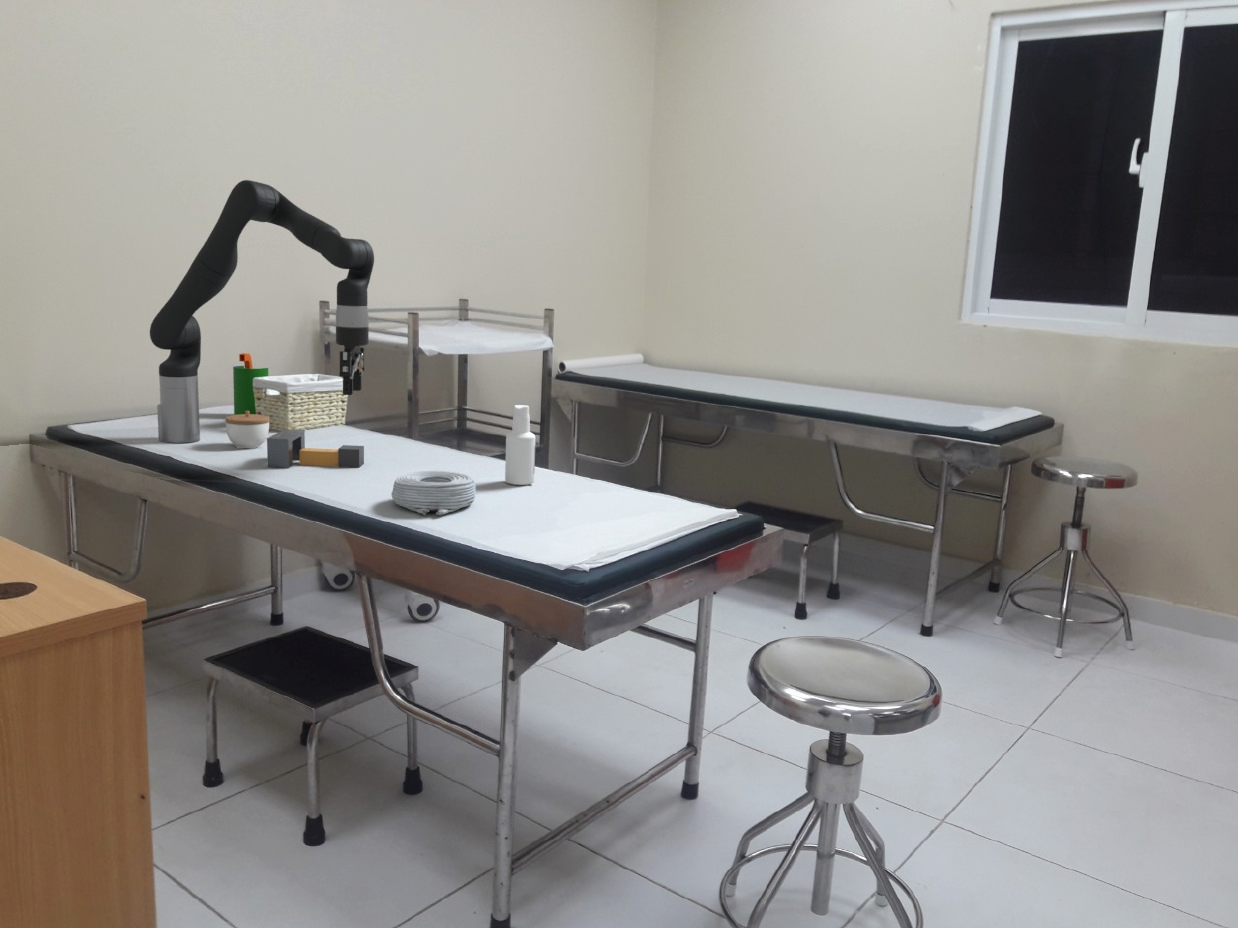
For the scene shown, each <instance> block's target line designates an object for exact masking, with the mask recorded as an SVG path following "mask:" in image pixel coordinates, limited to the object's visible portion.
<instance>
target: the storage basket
mask: <svg viewBox="0 0 1238 928" xmlns="http://www.w3.org/2000/svg"><path fill="white" fill-rule="evenodd" d="M253 392H254V398H255V407H256V414H257V415H265V416H268V417H269V418H270V421H269V428H270V429H269V430H273V429H275V430H274V431H278V430H280V431H282V430H284V429H288V430H302V429H307V430H311V429H310V428H314V429H318V428H317V427H321V428H327V427H326V426H328V427H331V426H330V424H331V425H335V426H341V425H345V424H346V415H347V407H348V406H347V405H348V397H349V395H344V394H343V379H342V377H340V376H336V375H330V374H329V375H328V374H322V373H313V374H312V373H306V374H305V373H304V374H303V373H302V374H301V373H299V374H288V375H287V374H286V375H270V376H269V375H268V376H267V377H258V378H257V377H255V378H254V379H253ZM324 426H325V427H324ZM280 431H279V432H280Z"/></svg>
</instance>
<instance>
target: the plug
mask: <svg viewBox="0 0 1238 928" xmlns="http://www.w3.org/2000/svg"><path fill="white" fill-rule="evenodd" d="M299 459H300V460H299V465H300V466H319V467H320V466H321V467H338V468H355V469H356V468H357V469H359V468H361V467H362V466H363V465H365V446H364V445H347V444H343V445H342V446H340V447H339V448H337V449H333V448H332V449H331V448H309V447H308V448H307V447H305V448H303V449H301V450H300V451H299Z"/></svg>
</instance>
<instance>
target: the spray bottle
mask: <svg viewBox="0 0 1238 928" xmlns="http://www.w3.org/2000/svg"><path fill="white" fill-rule="evenodd" d="M513 407H514V408H513V409H514V410H513V414H512V428H511V429H512V430H511V431H510V432H508V433H507V434H506V435H505V437H506V438H505V468H504V469H505V471H504V473H505V474H504V475H505V476H504V481H505V483H507V484H509V485H515V486H525V485H526V486H527V485H531V484H533V483H534V482H535V471H536V469H535V462H536V460H535V459H536V435H535V434H534V433H533V432H531V424H530V423H531V422H530V419H531V418H530V417H531V416H530V406H529V405H526V404H515V405H514V406H513Z"/></svg>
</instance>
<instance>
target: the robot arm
mask: <svg viewBox="0 0 1238 928" xmlns="http://www.w3.org/2000/svg"><path fill="white" fill-rule="evenodd" d="M224 204H225V205H223V209H222V210H221V212H220V215H219V217H218V220H217V221H216V223H215V225H214V226H213V228H212V230H211V231H210V234H209V235H208V237H207V239H206V241H205V242H204V244H203V245H202V247H201V248H200V250H199V251H198V252H197V254H196V256H195V257H194V260H193V261H192V263H191V264H190V266H189V267H188V270H187V272H186V273H185V275H184V276H183V278H182V279H181V281H180V282H179V284H178V285H177V287H176V289H175V291H174V292H173V294H172V295H171V296H170V298H169V299H168V300H167V301H166V303H165V304H164V305H163V307H161V309H159V312H157V314H156V315H155V317H154V318H153V320H152V322H151V324H150V328H149V338H150V340H151V342H152V344H153V345H154V346H155V347H156V348H158V349H160V350H170V353H169V356H168V357H167V358H166V359H165V360H164V361H163V362H161V363H160V364H159V366H158V375H159V376H158V379H159V381H158V382H159V396H160V397H159V401H160V403H158V404H157V407H156V409H157V429H158V431H157V433H158V441H159V442H163V443H164V442H165V443H175V444H176V443H177V444H178V443H179V444H180V443H181V444H182V443H193V442H199V441H200V440H201V435H200V434H201V430H200V429H201V428H200V426H201V425H200V404H199V403H200V401H199V399H200V398H199V379H198V378H199V374H198V370H199V367H200V364H201V360H202V359H201V357H202V356H201V355H202V354H201V353H202V352H201V351H202V335H201V332H202V331H201V328H200V324H199V322H198V320H197V319H196V317H195V316H194V314H195V313H196V312H197V311H198V310H199V309H200V308H202V307H203V306H204V305H205V304H207V303H208V302H209V301H211V300H212V299H213V298H214V297H216V296H217V295H219V293H221V292H222V291H223V289H224V288H225V286H226V285H227V284H228V283H229V281H230V279H231V278H232V276H233V275H234V273H235V271H236V269H237V266H238V259H239V257H238V241H239V238H240V236H241V233H243V231H244V229H245V227H246V226H247V225H248V223H249V222H250V221H254V222H259V223H269V224H272V225H276V226H279V227H282V228H284V229H286V230H287V231H289V232H290V233H291V234H292V235H293V236H294V238H295V239H296V240H298V241H299V242H300V243H302V244H303V245H305V246H306V247H308V248H310V249H312V250H313V251H316V252H317V253H319V254H320V255H321V256H322V257H323V258H324V259H325V260H326V261H327V262H329V263H330V264H331V265H333V266H335V267H336V268H338V269H342V270H348V272H347V276H346V277H345V278H344V279H342V280H341V279H340V280H339V281H338V282H337V285H336V309H335V343H336V344H337V345H339V346H343V347H344V348H343V350H340V351H339V377H342V379H343V394H344V395H348V396H352V395H353V394H354V392H355V391H356V392H359V391H361V390H362V376H363V374H364V372H365V347H366V346H368V345H369V334H370V333H369V320H370V319H369V310H368V309H369V308H368V288H369V284H370V282H371V281H370V280H371V277H372V272H373V267H374V263H375V254H374V250H373V247H372V245H371V244H370V242H369V241H367V240H364V239H362V238H361V239H360V238H358V239H357V238H348V237H343V236H341V233H340V231H339V230H338V229H337V228H336V227H334V225H333V226H332V225H331V224H329V223H327V222H326V221H324V220H322V219H320V218H318V217H316V216H314V215H312V214H310V213H308V212H306V211H305V210H303V209H301V207H299V206H297V205H296V204H294V203H293V202H292V201H291V200H290V199H288V197H286V196H285V195H284V194H282V193H281V192H280V191H279V190H278V189H276V188H275V187H273V186H272V185H269V184H266V183H263V182H258V181H254V180H250V179H244V180H240V182H237V184H236V185H235V186H234V187H233V189H232V190H231V192H230V193H229V195H228V197H227V200H226V202H225V203H224ZM364 346H365V347H364Z"/></svg>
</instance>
